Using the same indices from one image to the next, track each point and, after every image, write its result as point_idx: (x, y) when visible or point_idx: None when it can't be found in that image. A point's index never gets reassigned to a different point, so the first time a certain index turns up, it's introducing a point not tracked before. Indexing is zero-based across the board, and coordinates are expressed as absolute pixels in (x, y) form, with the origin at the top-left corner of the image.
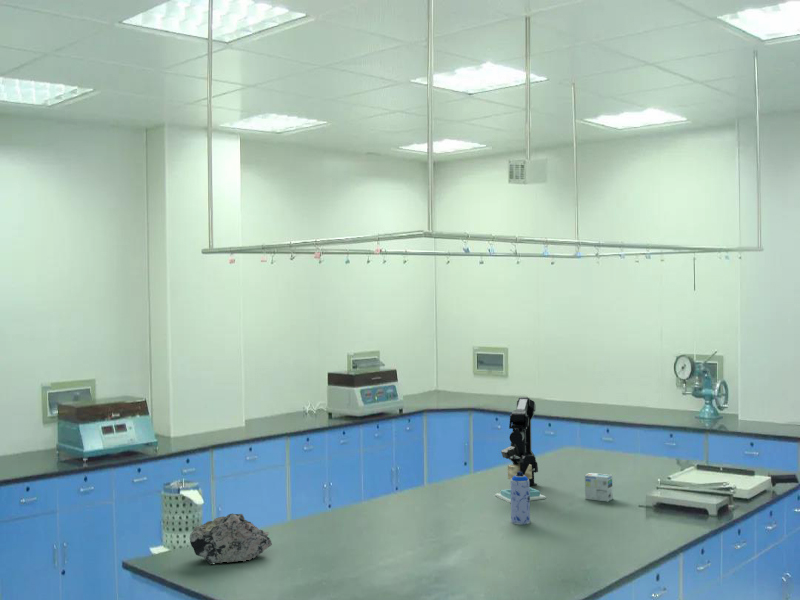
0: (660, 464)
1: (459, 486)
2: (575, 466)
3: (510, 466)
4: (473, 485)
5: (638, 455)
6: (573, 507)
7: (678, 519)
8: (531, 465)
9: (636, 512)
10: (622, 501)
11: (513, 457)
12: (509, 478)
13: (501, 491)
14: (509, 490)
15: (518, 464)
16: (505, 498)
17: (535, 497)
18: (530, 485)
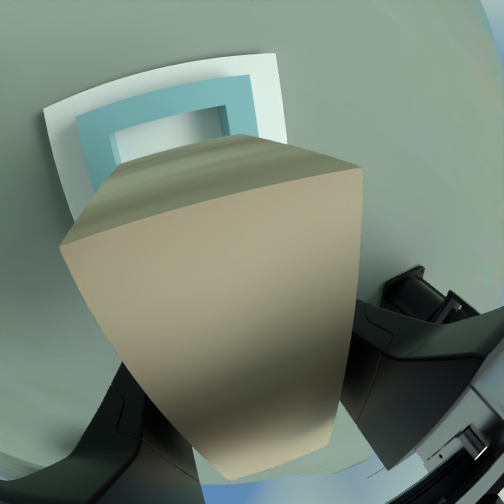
0: (362, 456)
1: (457, 31)
2: None
3: (174, 212)
4: (461, 85)
5: None
6: (7, 382)
7: (3, 466)
8: (227, 476)
9: (19, 454)
10: None
11: (476, 420)
12: (197, 143)
13: (230, 77)
14: None
15: (332, 392)
16: (108, 83)
17: None
18: (382, 302)
